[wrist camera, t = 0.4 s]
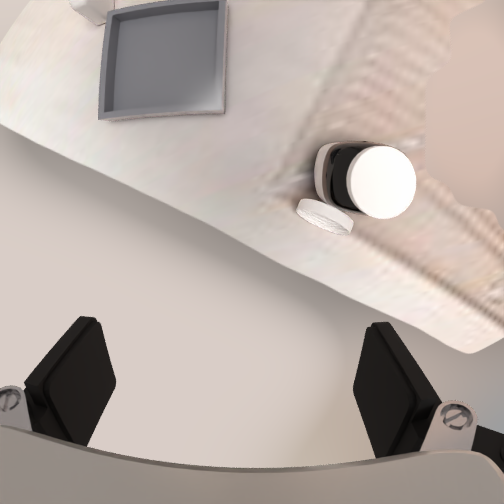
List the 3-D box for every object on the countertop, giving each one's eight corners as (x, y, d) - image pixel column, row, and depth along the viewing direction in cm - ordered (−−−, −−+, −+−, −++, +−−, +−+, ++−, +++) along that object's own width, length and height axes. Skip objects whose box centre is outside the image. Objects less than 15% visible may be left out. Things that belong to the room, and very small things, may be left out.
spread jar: (386, 146, 36) (432, 148, 25) (379, 231, 40) (419, 261, 29) (295, 138, 36) (312, 133, 25) (291, 228, 40) (306, 260, 29)
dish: (117, 20, 31) (107, 11, 27) (228, 7, 31) (226, -5, 27) (110, 121, 35) (98, 119, 32) (224, 113, 35) (222, 110, 32)
